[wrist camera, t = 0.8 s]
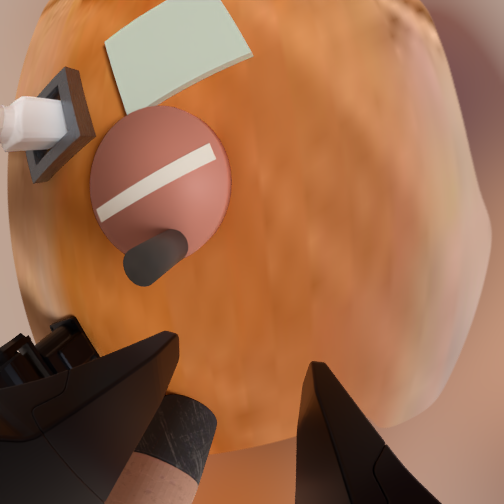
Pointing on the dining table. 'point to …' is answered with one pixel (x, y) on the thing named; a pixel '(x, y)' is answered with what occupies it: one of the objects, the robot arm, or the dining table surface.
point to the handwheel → (159, 188)
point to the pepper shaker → (31, 124)
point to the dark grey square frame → (77, 124)
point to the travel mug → (168, 455)
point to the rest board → (173, 50)
